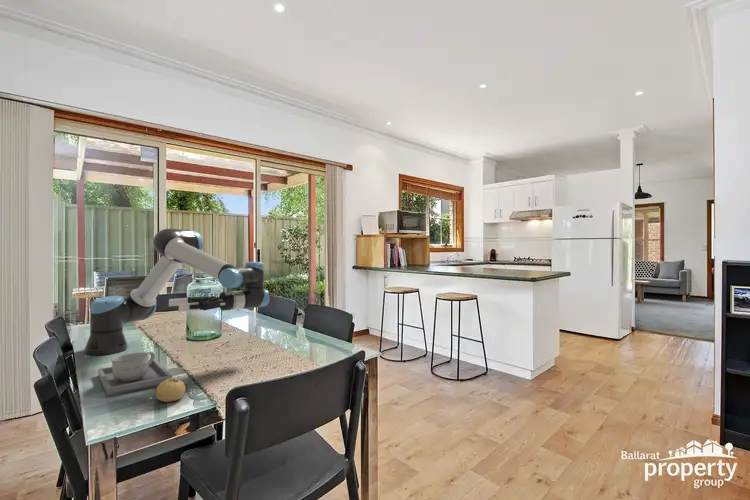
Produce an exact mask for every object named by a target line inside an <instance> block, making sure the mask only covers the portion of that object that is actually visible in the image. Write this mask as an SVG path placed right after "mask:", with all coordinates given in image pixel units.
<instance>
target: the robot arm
mask: <svg viewBox="0 0 750 500" xmlns="http://www.w3.org/2000/svg"><path fill="white" fill-rule="evenodd" d="M152 245H153V248H154V250H155V251H156V252H157V254H159V255H161V257H160V258H159V259H158V261H157V262H156V263H155V265H154V266H153V267H152V269H151V270H150V272H149V273H148V274H147V275H146V277H145V278H144V280H143V281H142V282H141V283H140V285H139V286H138V287H137V288H134V289H132V290H131V291H130V293H129V294H128V295H127V296H126V297H123V296H122V295H110V296H101V297H99V298H95V299H94V300H93V301H92V302H91V303H90V309H89V313H90V320H89V321H90V325H89V326H90V327H89V329H90V331H89V336H88V339H87V342H86V344H85V347H84V354H85V355H88V356H102V355H112V354H117V353H120V352H124V351H126V350H127V349H128V342H127V339H126V336H125V333H124V324H128V323H133V322H139V321H144V320H146V319H149V318H150V317H151V318H152V316H153V315H154V314H155V312H156V310H157V307H156V306H157V297H158V295H159V294H160V293H161V291H162V290H163V288H165V286H166V285H167V284H168V282H169V280H171V279H172V277H173V276H174V274H175V273H176V272H177V270H178V269H179V268H180V266H181V265H183V264H184V265H186V266H189V267H191V268H193V269H195V270H197V271H199V272H201V273H203V274H205V275H207V276H209V277H211V278H213V279H215V280H218V281H219V283H220V285H221V286H222V287H224V288H227V289H235V288H238V287H239V288H240V287H244V290H232V291H230V290H229V291H221V292H220V293H219V296H215V295H214V296H212V295H211V296H187V297H184V298H183V297H182V298H169V299H168V307H178V312H189V311H209V310H213V309H220V310H221V311H223V312H224V311H233V310H236V311H240V310H242V309H244V310H245V309H257V308H264V307H266V306H268V304H269V303H270V293H269V290H267V289H266V288H264V280H265V279H264V276H265V269H264V268H265V267H264V263H263V261H262V262H261V261H247V262H245V264H244V265H245V266H244V267H237V266H234V265H232V264H230V263H228V262H227V261H224V260H222V259H220V258H218V257H216V256H213V255H212V254H209V253H208V252H205V251H203V249H204V239H203V236H202V235H201V234H200V233H199V232H198V231H196V230H192V229H181V228H180V229H177V228H164V229H162V230H159V231H158V232H157V233H156V234H155V235H154V237H153V239H152Z"/></svg>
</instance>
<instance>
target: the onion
mask: <svg viewBox="0 0 750 500" xmlns="http://www.w3.org/2000/svg"><path fill="white" fill-rule="evenodd" d="M179 377H180V376H177V377H172V378H168V379H166V380H164V381H163V382H162V383H160V384H159V386H158V387H156V389H155V396H156V398H157V400H158V401H159V402H163V403H171V402H175V401H178V400H180V399H181V398H182V397H183V396H184V394H185V392H186V385H185V383H184V381H182V380H181V379H179Z"/></svg>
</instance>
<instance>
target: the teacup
mask: <svg viewBox="0 0 750 500" xmlns="http://www.w3.org/2000/svg"><path fill="white" fill-rule="evenodd" d="M155 356H156V355H155V353H154V351H147V352H141V351H140V352H130V353H125V354H121V355H118V356H114V357H112V359H111V364H112V366H111V367H112V371H113V376H114V378H116V379H118V380H119V381H121V382H128V381H134V380H137V379H140V378H142V377H143V376H144V375H145V374H146V373H147V371H148V368H149V365H150V364H151V363H152V362H153V360H155V359H156V357H155ZM149 357H150V359H149Z"/></svg>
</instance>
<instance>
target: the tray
mask: <svg viewBox="0 0 750 500" xmlns="http://www.w3.org/2000/svg"><path fill="white" fill-rule="evenodd" d="M97 372H98V375H97V376H98V378H99V381H100V383H101V385H102V388H103V389H104V392H106V393H105V395H106V397H107V398H110V397H114V396H119V395H123V394H128V393H133V392H138V391H142V390H149V389H153V388H157V387H158V386H159V384H160V383H162V382H163V381H164V380H166V379H168V378H173V376H172V374H171V373H169V372H168V370H167V369H165V367H164V366H163V365H162V364H161V363H160V362H159V361H158V360H157V359H154V360H153V362H152V363H151V364H150V365H149V368H148V371H147V373H146V374H145V375H144V376H143V377H142V378H140V379H137V380H134V381H128V382H121V381H119V380H118V379H116V378H114V376H113V371H112V366H109V367H101V368H98V370H97Z"/></svg>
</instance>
